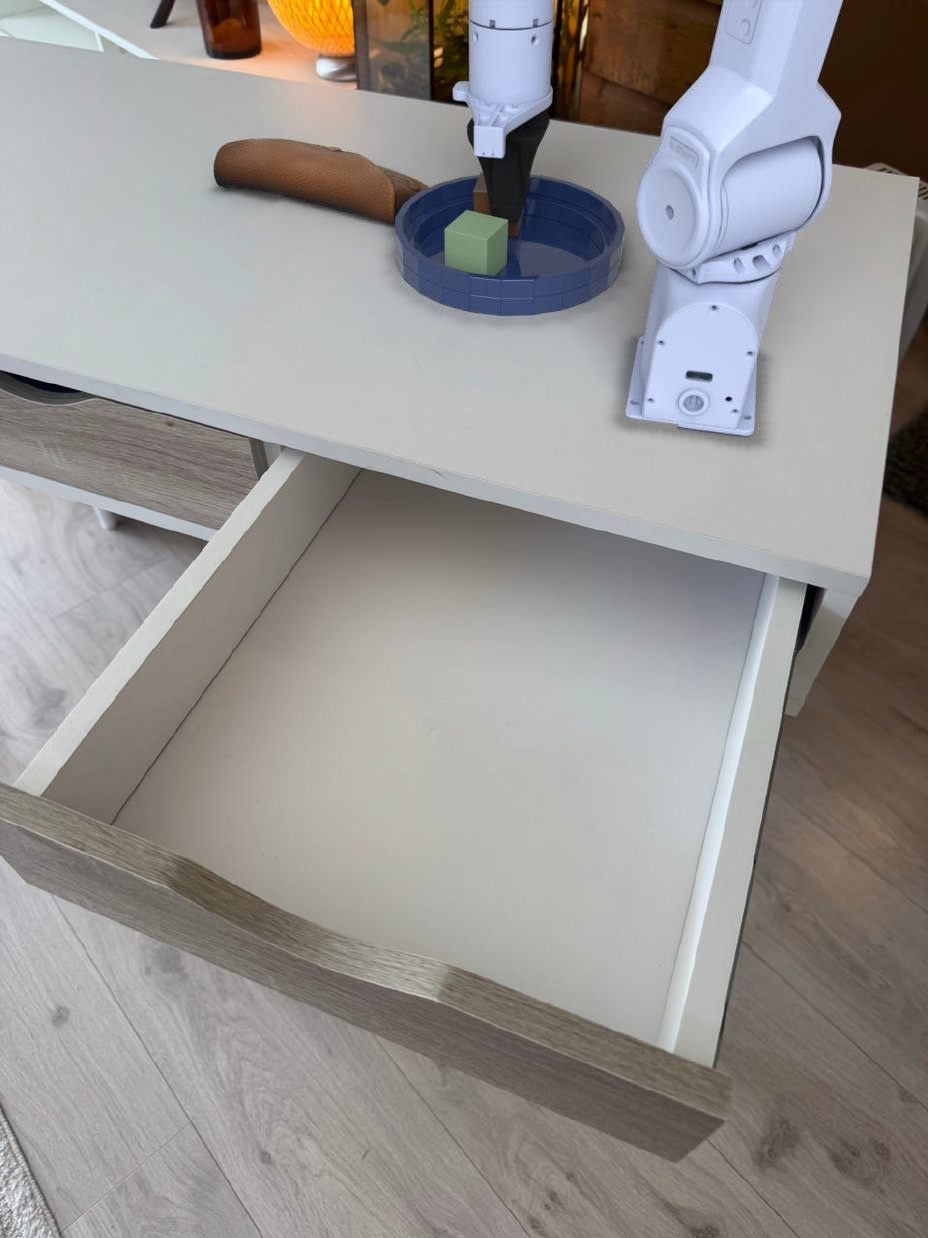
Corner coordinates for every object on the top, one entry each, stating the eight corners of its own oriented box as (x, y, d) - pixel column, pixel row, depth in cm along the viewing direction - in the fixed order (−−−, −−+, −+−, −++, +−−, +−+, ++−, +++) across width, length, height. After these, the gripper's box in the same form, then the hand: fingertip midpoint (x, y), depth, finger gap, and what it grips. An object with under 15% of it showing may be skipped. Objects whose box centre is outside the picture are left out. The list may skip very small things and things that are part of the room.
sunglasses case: (444, 188, 80) (423, 132, 74) (413, 259, 79) (389, 208, 73) (269, 150, 85) (235, 95, 79) (237, 217, 84) (201, 166, 78)
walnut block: (517, 236, 74) (517, 192, 71) (474, 235, 75) (472, 190, 72) (523, 217, 76) (523, 173, 74) (481, 215, 77) (480, 171, 74)
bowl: (604, 334, 66) (609, 292, 63) (370, 306, 68) (366, 264, 66) (630, 223, 77) (635, 184, 75) (428, 202, 79) (426, 163, 77)
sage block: (486, 285, 69) (487, 239, 67) (444, 274, 70) (444, 228, 68) (506, 264, 71) (508, 219, 69) (466, 253, 72) (466, 209, 70)
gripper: (476, -15, 68) (476, 176, 78) (426, 47, 59) (434, 256, 69) (572, -11, 67) (559, 183, 77) (537, 54, 57) (528, 265, 67)
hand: (506, 218), depth 73 cm, fingers closed, pressing on walnut block
